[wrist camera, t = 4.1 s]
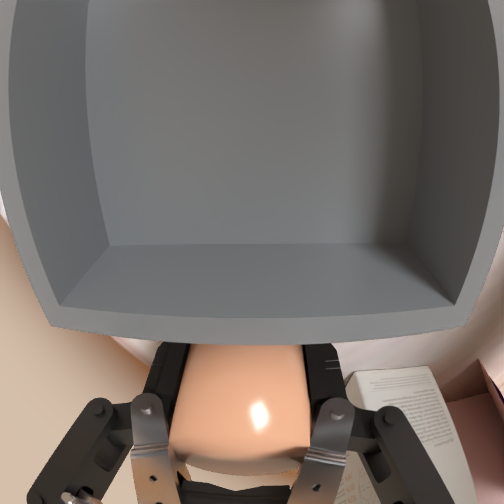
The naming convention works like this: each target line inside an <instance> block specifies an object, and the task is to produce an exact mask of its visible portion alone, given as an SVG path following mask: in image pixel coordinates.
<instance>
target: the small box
mask: <svg viewBox="0 0 504 504" xmlns="http://www.w3.org/2000/svg"><path fill="white" fill-rule="evenodd" d="M345 390H346V394H347V397H348V399H349V401H350V402H351V403H352V404H353V405H354V406H356V407H358V408H360V409H365V410H372V411H378V410H379V409H380V408H382V407H384V406H395V407H398V408H399V409H401V410H402V411H403V413H404V414H405V416H406V418H407V419H408V421H409V423H410V424H411V426H412V428H413V429H414V431H415V433H416V434H417V436H418V438H419V439H420V441H421V443H422V445H423V446H424V448H425V450H426V451H427V453H428V455H429V457H430V458H431V460H432V462H433V464H434V466H435V467H436V469H437V471H438V473H439V474H440V476H441V478H442V480H443V482H444V484H445V485H446V487H447V489H448V491H449V493H450V495H451V497H452V498H453V500H454V502H455V504H479V503H478V499H477V495H476V491H475V487H474V483H473V479H472V477H471V473H470V469H469V466H468V463H467V460H466V457H465V454H464V451H463V448H462V445H461V442H460V439H459V436H458V434H457V431H456V428H455V426H454V423H453V420H452V418H451V415H450V413H449V410H448V408H447V406H446V403H445V401H444V399H443V396H442V394H441V392H440V389H439V387H438V385H437V383H436V380H435V378H434V376H433V374H432V372H431V370H430V368H429V367H428V366H427V365H426V366H418V367H409V368H399V369H384V370H369V371H356V372H354V373H353V375H352V377H351V379H350V381H349V382H348V384H347V386H346V387H345ZM345 458H346V465H345V469H344V472H343V476H342V479H341V483H340V486H339V489H338V492H337V496H336V499H335V502H334V504H381V502H380V500H379V498H378V496H377V494H376V492H375V490H374V487H373V485H372V483H371V481H370V479H369V477H368V475H367V472H366V470H365V468H364V466H363V464H362V462H361V460H360V458H359V455H358V453H357V452H353V451H346V455H345Z"/></svg>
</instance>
